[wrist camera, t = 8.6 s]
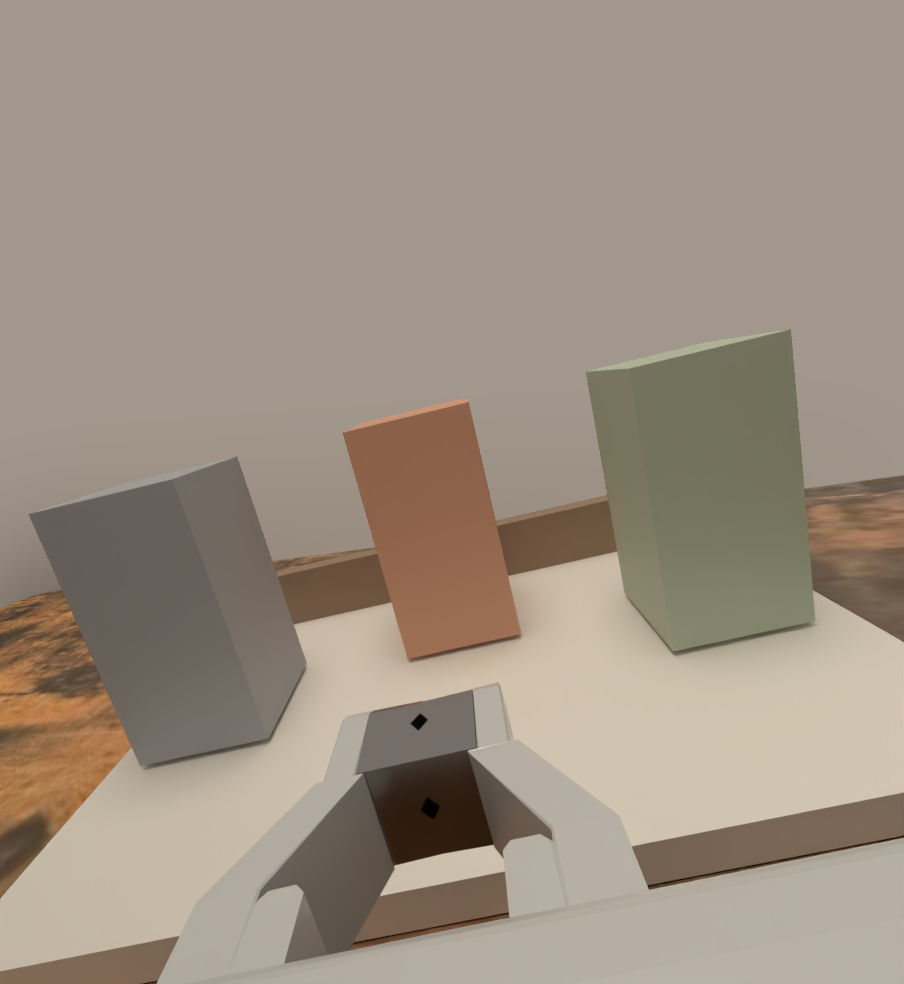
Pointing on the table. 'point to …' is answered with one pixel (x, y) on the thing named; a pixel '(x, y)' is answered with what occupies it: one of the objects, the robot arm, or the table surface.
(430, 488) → the terracotta rectangular block
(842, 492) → the table surface
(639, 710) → the cream board with rail
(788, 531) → the sage green block
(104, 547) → the blue-grey block
